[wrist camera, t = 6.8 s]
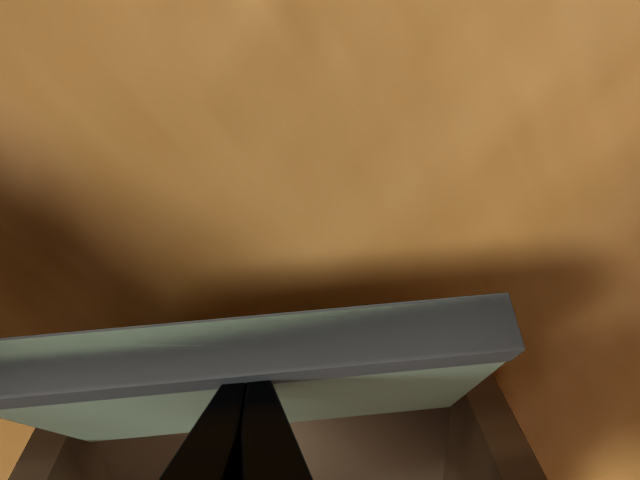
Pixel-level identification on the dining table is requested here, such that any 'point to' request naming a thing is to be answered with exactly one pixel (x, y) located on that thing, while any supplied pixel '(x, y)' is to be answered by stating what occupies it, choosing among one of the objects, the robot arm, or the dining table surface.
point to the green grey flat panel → (257, 365)
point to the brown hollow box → (329, 447)
